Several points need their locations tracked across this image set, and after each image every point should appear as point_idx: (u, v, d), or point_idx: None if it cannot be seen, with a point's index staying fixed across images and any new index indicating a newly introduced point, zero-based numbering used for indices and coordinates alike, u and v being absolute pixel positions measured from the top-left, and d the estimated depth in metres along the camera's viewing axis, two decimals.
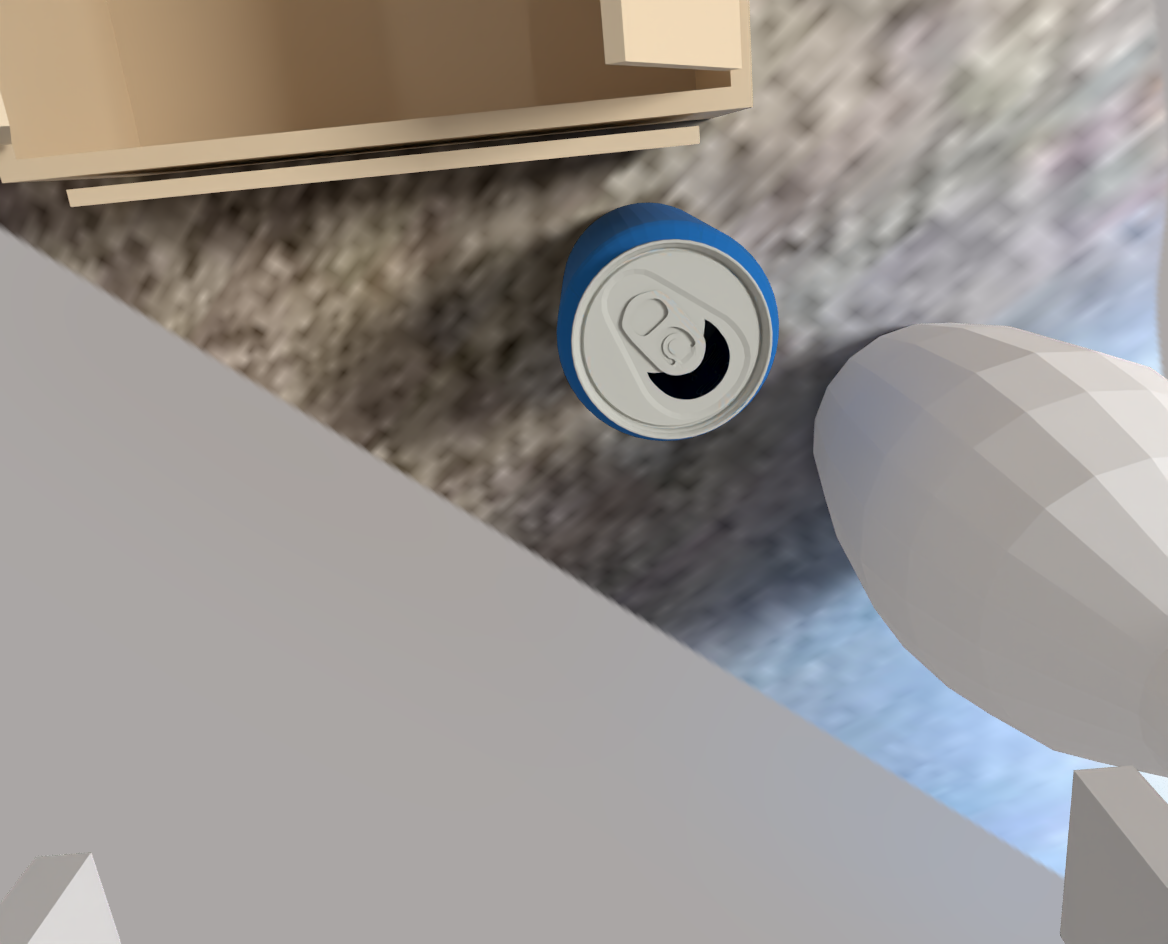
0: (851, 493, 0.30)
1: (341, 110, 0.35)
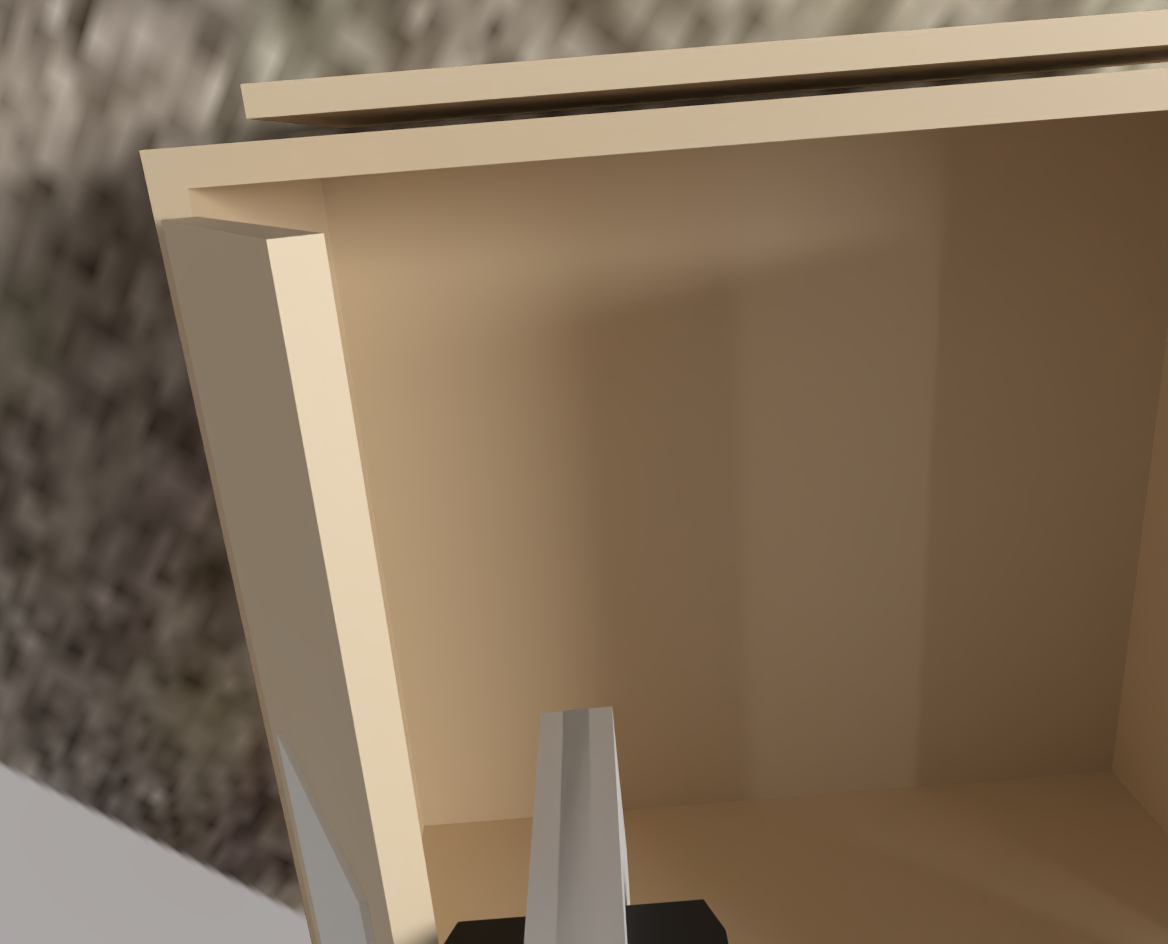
0: None
1: (676, 778, 0.28)
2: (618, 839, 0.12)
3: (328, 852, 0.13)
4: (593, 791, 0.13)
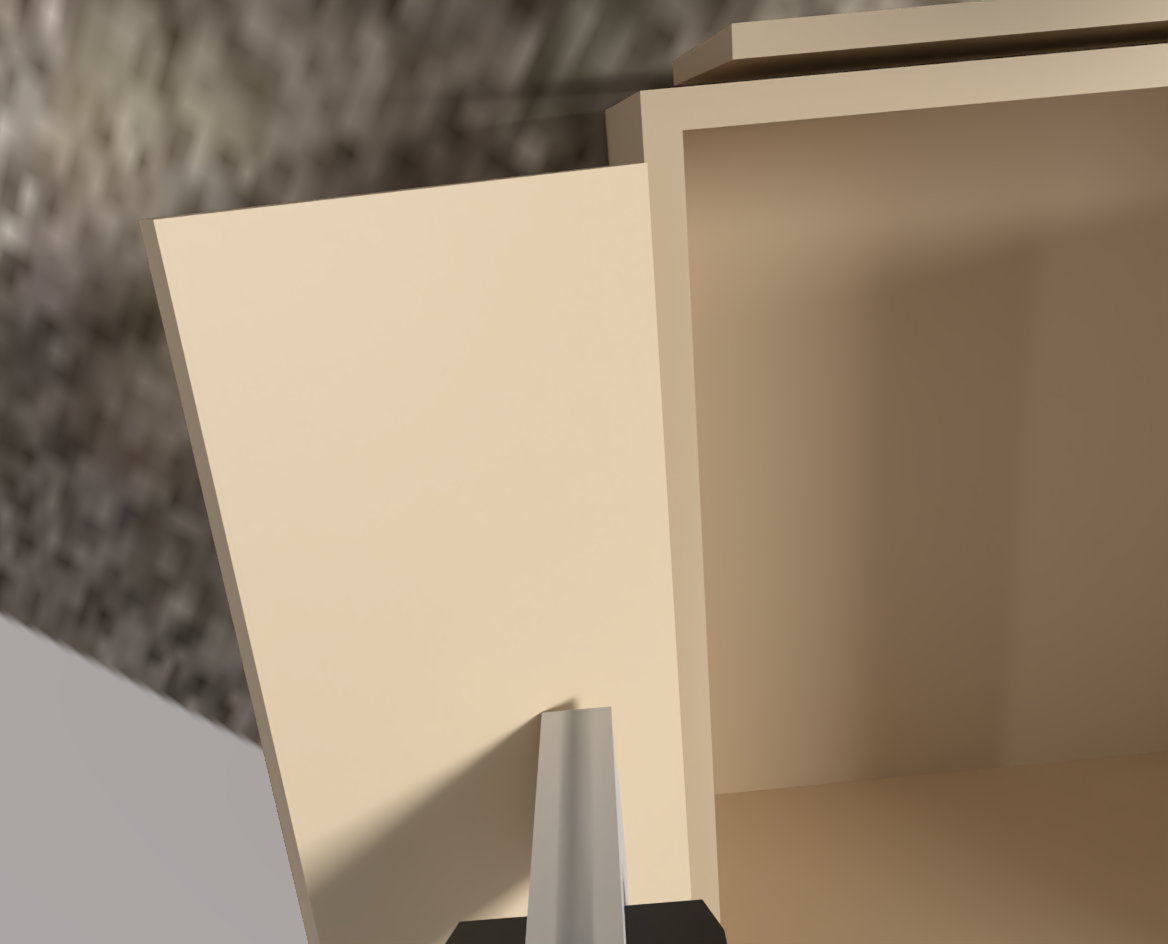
0: None
1: (931, 746, 0.28)
2: (617, 839, 0.12)
3: None
4: (594, 791, 0.13)
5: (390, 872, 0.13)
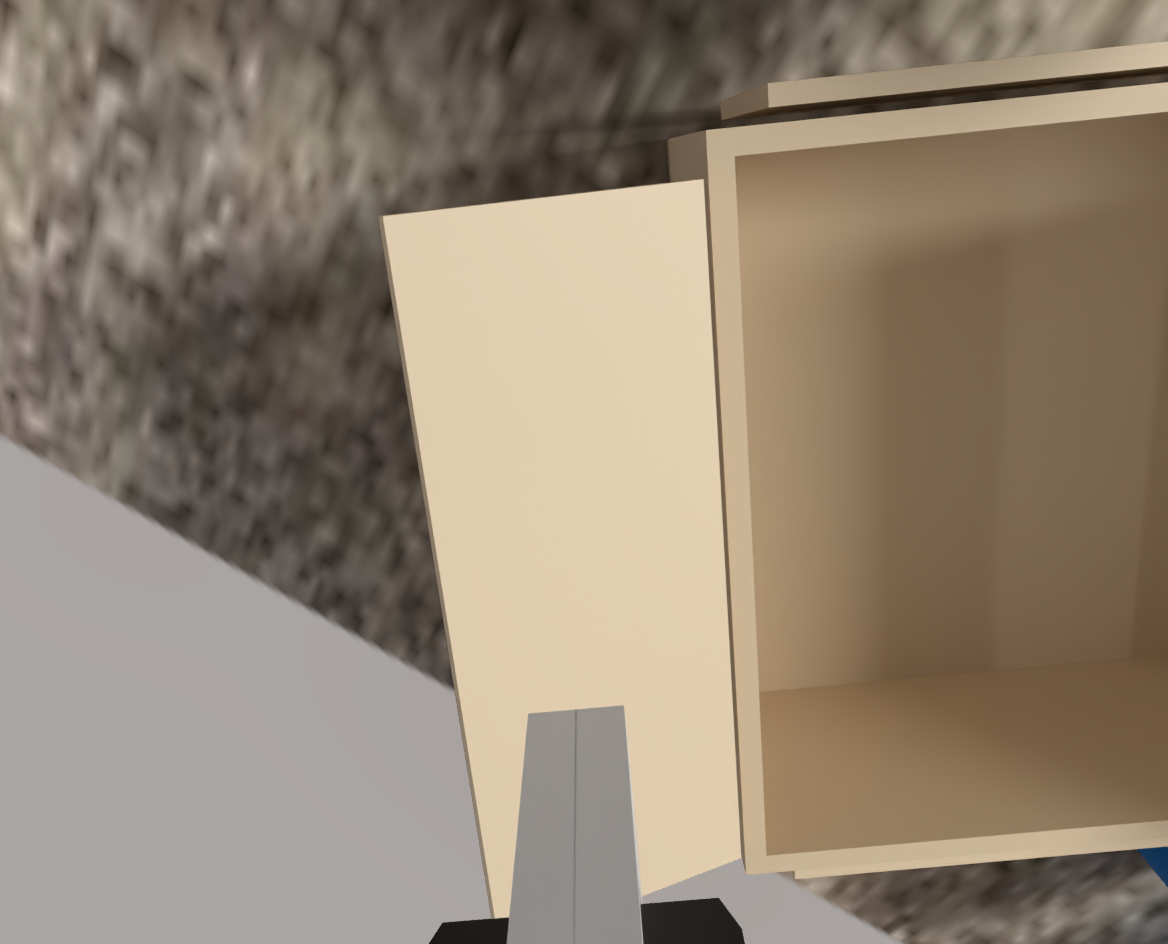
0: None
1: (932, 652, 0.34)
2: (633, 838, 0.12)
3: None
4: (579, 792, 0.13)
5: (499, 621, 0.21)
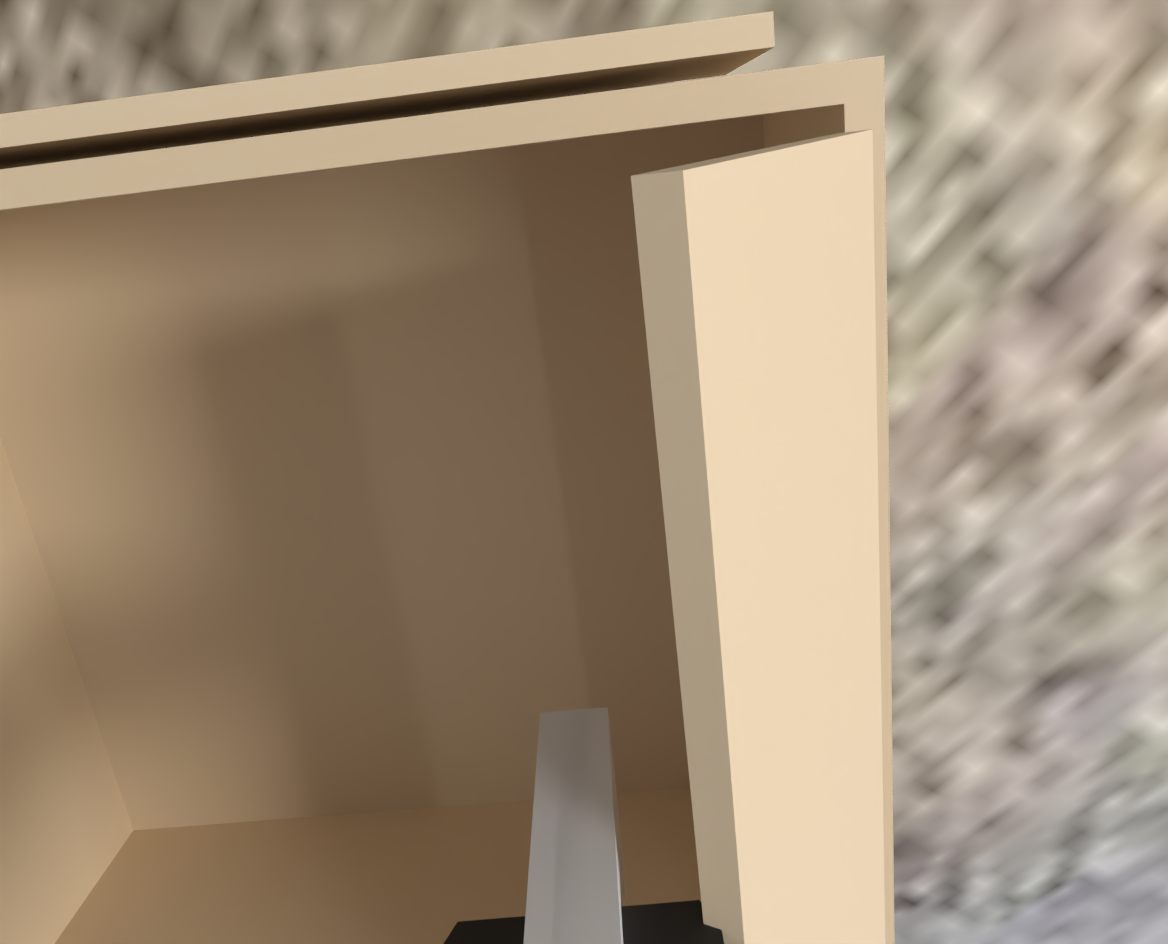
0: None
1: (365, 786, 0.29)
2: (614, 840, 0.12)
3: None
4: (593, 791, 0.13)
5: None
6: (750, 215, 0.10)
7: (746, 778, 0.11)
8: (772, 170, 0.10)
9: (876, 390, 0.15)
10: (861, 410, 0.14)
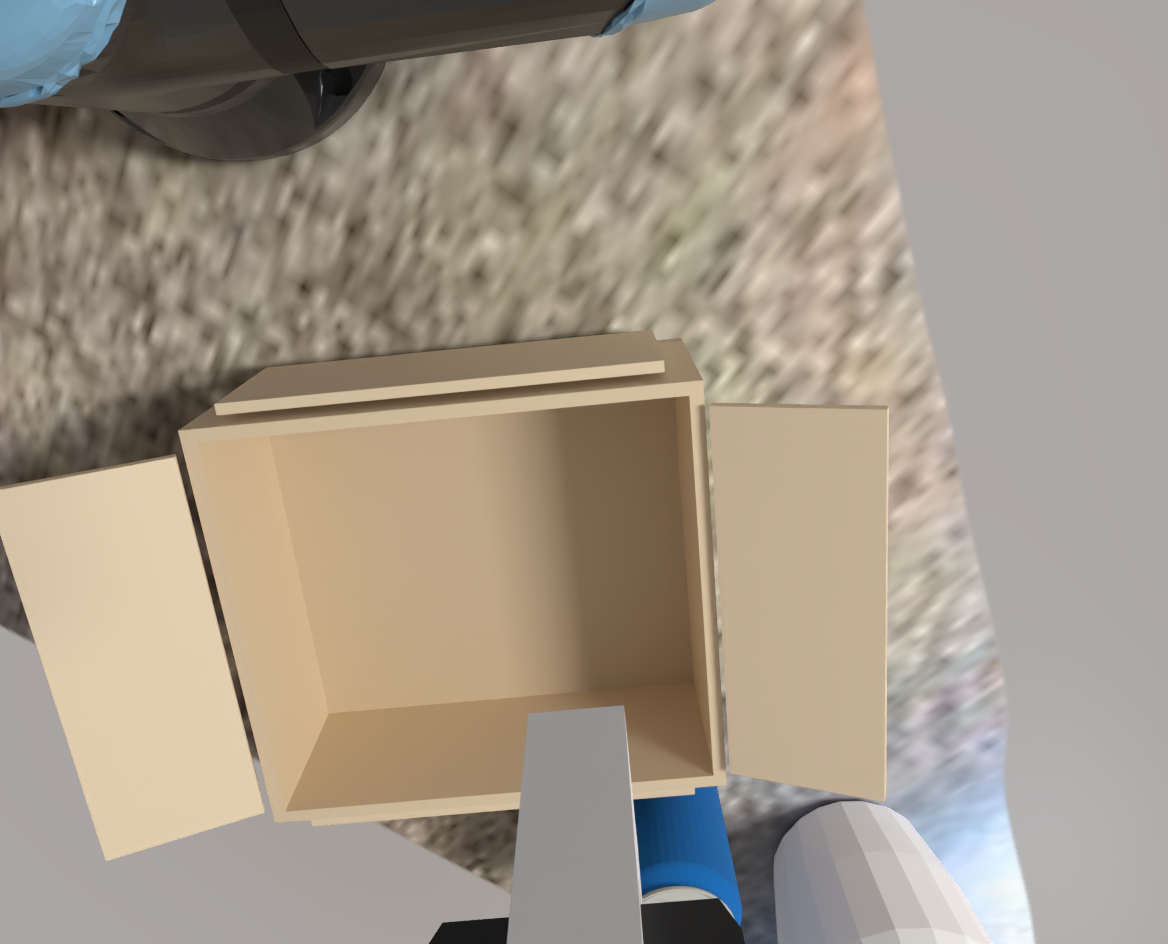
0: None
1: (460, 687, 0.53)
2: (633, 838, 0.12)
3: None
4: (579, 792, 0.13)
5: (80, 683, 0.40)
6: None
7: None
8: None
9: None
10: None
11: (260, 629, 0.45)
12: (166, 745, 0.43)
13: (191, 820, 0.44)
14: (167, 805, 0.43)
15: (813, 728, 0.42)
